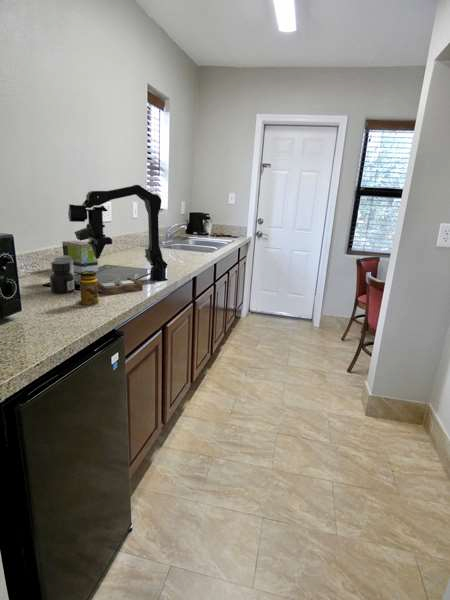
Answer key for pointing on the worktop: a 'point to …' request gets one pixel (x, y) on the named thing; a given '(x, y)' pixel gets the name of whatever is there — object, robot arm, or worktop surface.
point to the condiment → (88, 290)
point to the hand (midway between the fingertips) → (97, 258)
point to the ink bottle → (61, 278)
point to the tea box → (81, 255)
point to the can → (66, 258)
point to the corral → (120, 288)
